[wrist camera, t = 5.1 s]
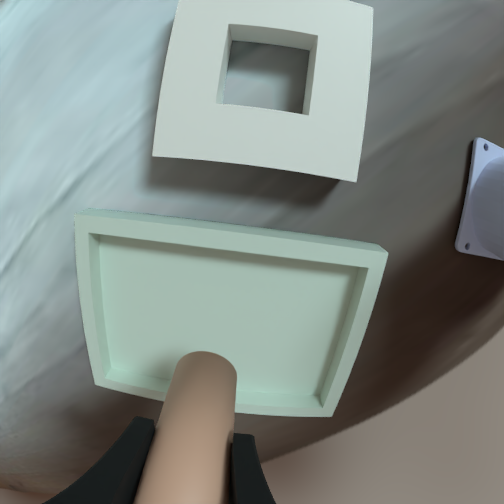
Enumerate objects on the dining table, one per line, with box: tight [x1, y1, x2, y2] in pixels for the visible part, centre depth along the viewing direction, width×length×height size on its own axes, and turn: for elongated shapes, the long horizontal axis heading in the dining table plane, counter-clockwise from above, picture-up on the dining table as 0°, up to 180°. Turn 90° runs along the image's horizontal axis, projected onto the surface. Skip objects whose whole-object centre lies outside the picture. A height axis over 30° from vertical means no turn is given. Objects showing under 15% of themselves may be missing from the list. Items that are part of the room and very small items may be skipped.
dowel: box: [133, 351, 237, 504], centre depth 9 cm, size 3×3×9 cm
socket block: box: [152, 0, 373, 182], centre depth 14 cm, size 10×10×2 cm
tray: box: [74, 208, 388, 417], centre depth 19 cm, size 18×13×2 cm
